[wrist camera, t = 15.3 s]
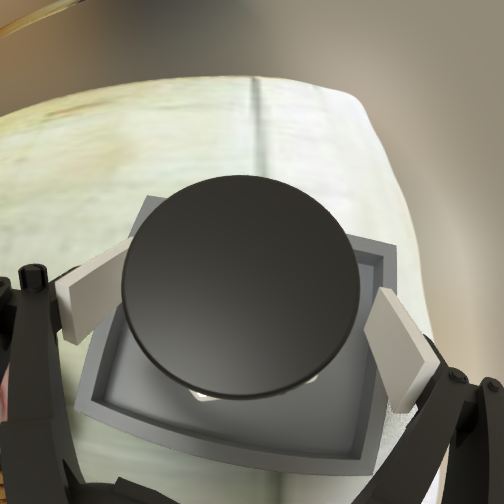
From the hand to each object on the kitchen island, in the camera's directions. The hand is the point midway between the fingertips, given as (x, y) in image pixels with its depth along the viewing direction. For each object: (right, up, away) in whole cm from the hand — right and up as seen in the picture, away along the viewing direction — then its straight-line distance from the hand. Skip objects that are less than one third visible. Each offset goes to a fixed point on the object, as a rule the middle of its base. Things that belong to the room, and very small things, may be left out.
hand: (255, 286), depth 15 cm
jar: (-1, -4, +5) cm, 6 cm away
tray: (-1, -5, +6) cm, 7 cm away
